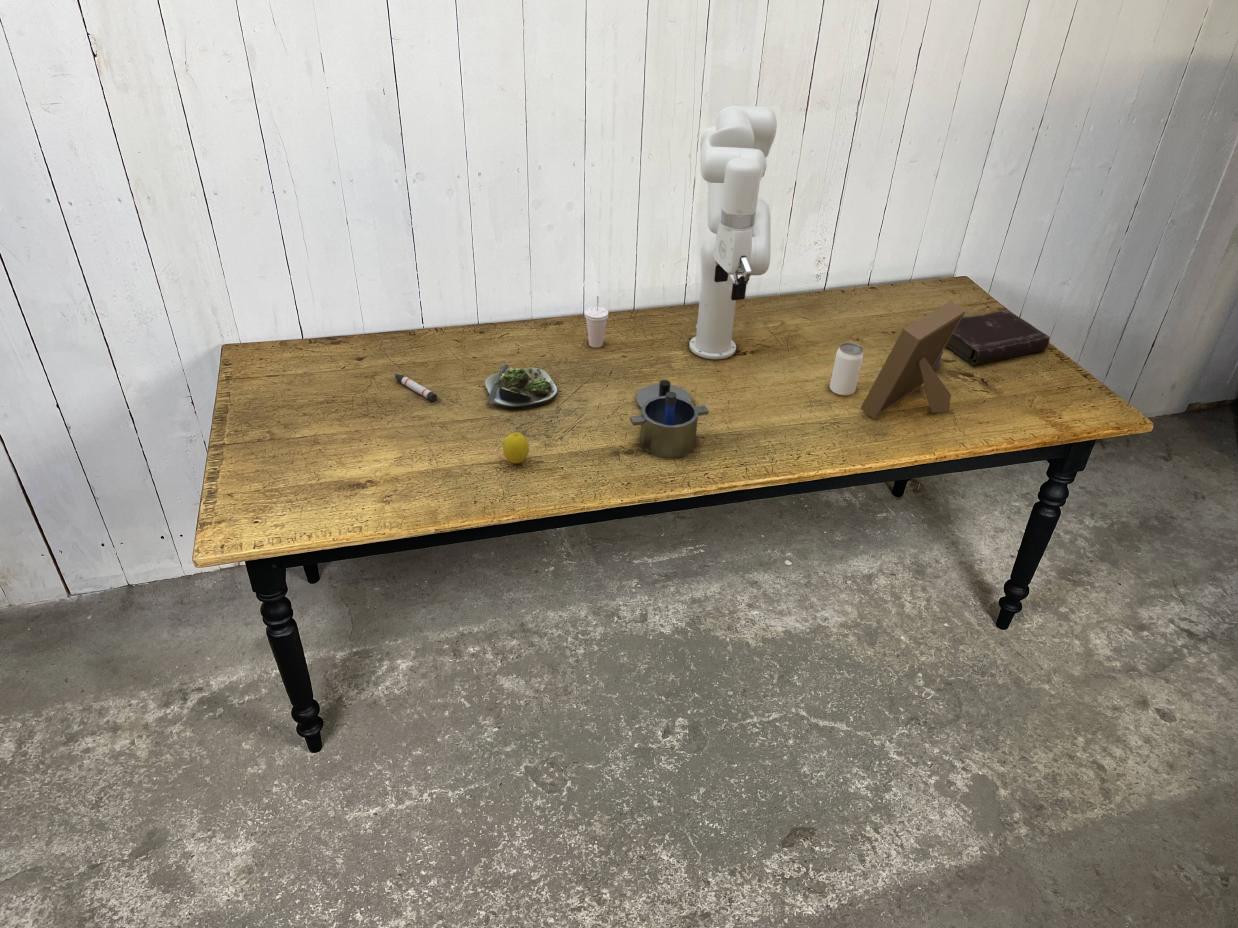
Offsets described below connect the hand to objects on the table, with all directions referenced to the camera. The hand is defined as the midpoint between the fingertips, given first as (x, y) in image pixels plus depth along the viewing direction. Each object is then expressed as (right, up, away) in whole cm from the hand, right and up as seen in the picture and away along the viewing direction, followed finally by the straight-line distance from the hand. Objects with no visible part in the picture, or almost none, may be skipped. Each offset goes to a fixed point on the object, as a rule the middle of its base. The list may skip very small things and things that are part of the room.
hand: (729, 290), depth 198 cm
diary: (+78, -7, +43) cm, 89 cm away
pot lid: (-14, -24, +13) cm, 31 cm away
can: (+31, -21, +21) cm, 43 cm away
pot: (-14, -35, 0) cm, 38 cm away
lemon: (-48, -40, -8) cm, 63 cm away
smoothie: (-32, -8, +36) cm, 48 cm away
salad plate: (-50, -23, +15) cm, 56 cm away
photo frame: (+46, -26, +15) cm, 55 cm away
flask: (+57, -15, +31) cm, 66 cm away
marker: (-76, -22, +14) cm, 80 cm away
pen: (-14, -35, -1) cm, 37 cm away
